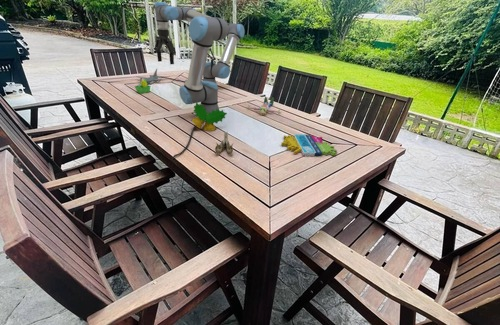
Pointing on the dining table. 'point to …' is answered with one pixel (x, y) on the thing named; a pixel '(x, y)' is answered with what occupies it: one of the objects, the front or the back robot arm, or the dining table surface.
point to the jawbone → (224, 145)
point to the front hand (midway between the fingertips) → (165, 62)
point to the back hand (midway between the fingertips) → (203, 68)
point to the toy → (265, 107)
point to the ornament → (207, 117)
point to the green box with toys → (143, 87)
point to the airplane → (151, 78)
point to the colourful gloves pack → (308, 145)
